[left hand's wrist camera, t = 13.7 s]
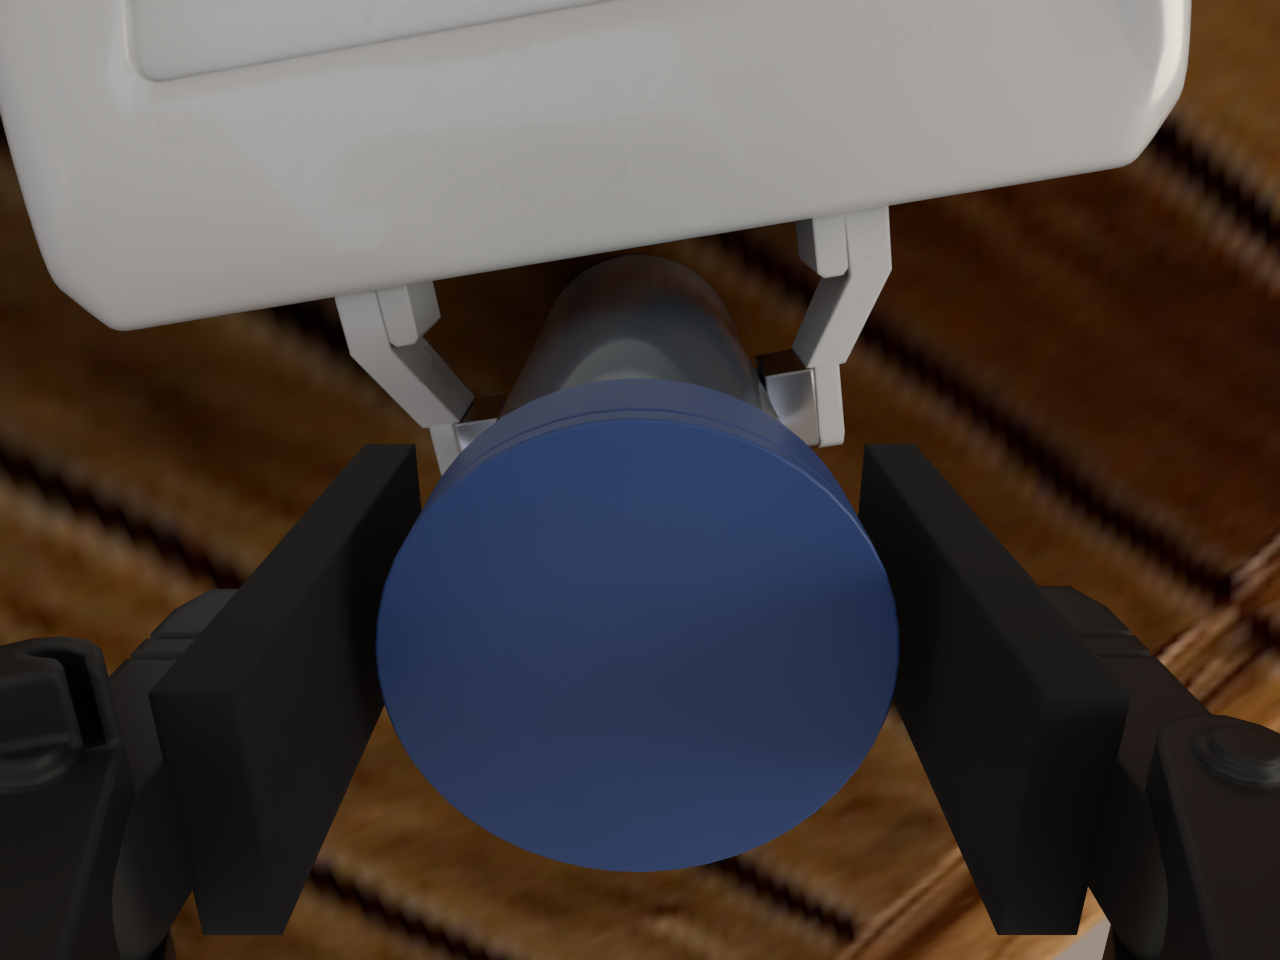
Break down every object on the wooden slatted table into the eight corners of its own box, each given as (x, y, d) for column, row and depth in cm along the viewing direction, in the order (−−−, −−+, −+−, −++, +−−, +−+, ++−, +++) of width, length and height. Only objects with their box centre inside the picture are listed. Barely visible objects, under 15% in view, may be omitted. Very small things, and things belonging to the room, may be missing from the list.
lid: (961, 548, 12) (1012, 614, 10) (685, 846, 14) (691, 943, 12) (576, 276, 11) (564, 302, 9) (328, 644, 12) (281, 722, 11)
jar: (775, 330, 25) (957, 601, 11) (660, 478, 27) (685, 889, 12) (614, 213, 24) (575, 340, 10) (505, 375, 25) (331, 694, 11)
